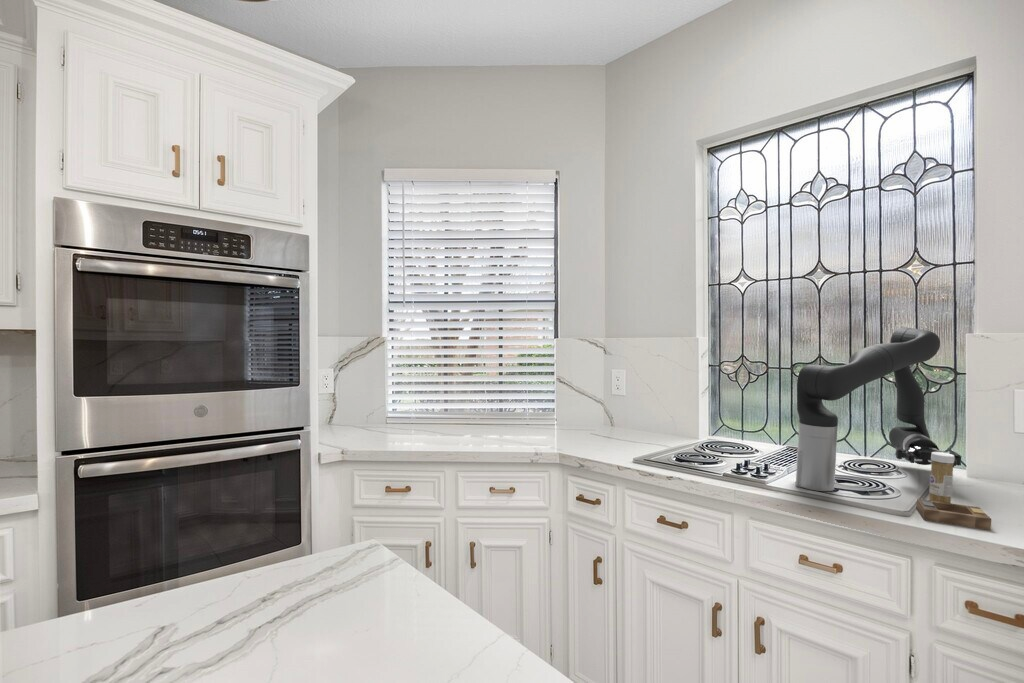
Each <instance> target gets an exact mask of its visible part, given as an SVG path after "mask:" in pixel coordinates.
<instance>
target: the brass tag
mask: <svg viewBox="0 0 1024 683" xmlns="http://www.w3.org/2000/svg"><path fill="white" fill-rule="evenodd" d="M970 510H971V511H972V512H973V513H977V514H984V515H985V513H986V512H985V511H984V510H983V509H981V508H980V509H975V508H970ZM982 510H983V511H984V512H985V513H984V512H983V511H982Z"/></svg>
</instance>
